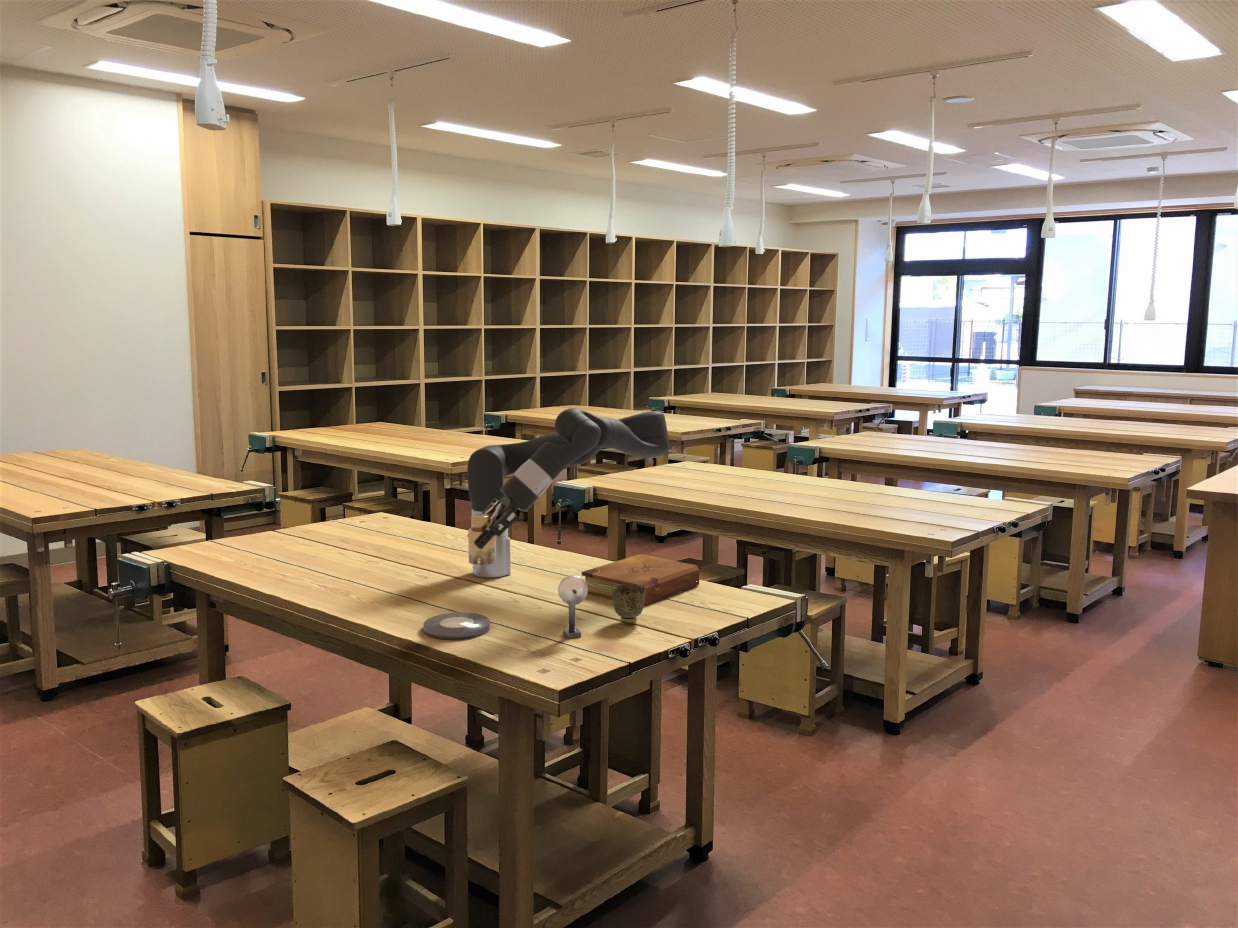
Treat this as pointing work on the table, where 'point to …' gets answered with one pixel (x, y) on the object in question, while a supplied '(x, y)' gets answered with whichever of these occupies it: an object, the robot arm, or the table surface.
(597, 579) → the diary
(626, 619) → the cup
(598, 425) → the robot arm
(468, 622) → the turntable
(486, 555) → the weight
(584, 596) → the dial gauge
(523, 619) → the table surface
